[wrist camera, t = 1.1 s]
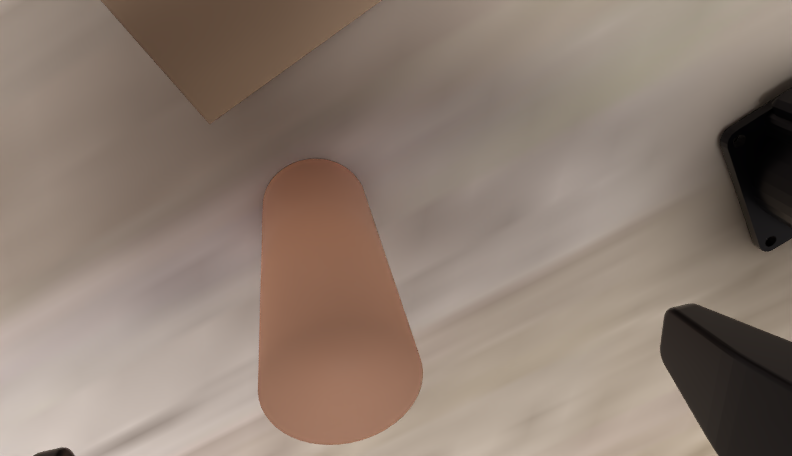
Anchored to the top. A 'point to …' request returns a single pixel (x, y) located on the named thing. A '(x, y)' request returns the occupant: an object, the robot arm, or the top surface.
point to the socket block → (230, 41)
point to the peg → (329, 312)
